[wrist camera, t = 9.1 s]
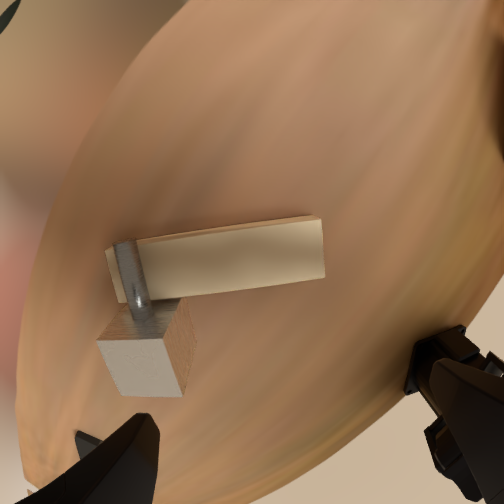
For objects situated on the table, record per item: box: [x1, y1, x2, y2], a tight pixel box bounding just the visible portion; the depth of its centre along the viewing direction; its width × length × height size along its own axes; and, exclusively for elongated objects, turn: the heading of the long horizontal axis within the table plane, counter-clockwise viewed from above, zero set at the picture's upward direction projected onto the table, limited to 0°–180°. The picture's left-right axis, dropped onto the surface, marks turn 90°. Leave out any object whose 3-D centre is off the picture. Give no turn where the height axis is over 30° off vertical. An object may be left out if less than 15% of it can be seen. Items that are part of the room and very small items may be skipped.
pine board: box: [105, 215, 325, 303], centre depth 17 cm, size 4×13×2 cm, turn 97°
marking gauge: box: [96, 238, 197, 397], centre depth 15 cm, size 8×4×6 cm, turn 7°
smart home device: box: [75, 431, 103, 460], centre depth 25 cm, size 8×2×20 cm
